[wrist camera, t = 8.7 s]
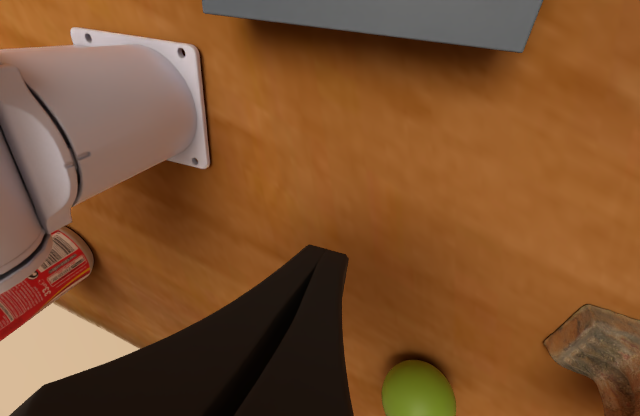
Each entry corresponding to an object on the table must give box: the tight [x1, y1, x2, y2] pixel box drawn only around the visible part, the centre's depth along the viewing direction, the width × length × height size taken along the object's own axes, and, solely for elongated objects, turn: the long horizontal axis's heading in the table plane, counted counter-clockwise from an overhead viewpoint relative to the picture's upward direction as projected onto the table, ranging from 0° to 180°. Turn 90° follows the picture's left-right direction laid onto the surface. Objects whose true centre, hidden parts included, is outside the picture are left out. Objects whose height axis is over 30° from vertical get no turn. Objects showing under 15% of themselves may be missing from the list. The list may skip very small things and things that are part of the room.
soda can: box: [0, 227, 94, 341], centre depth 29 cm, size 7×7×13 cm
